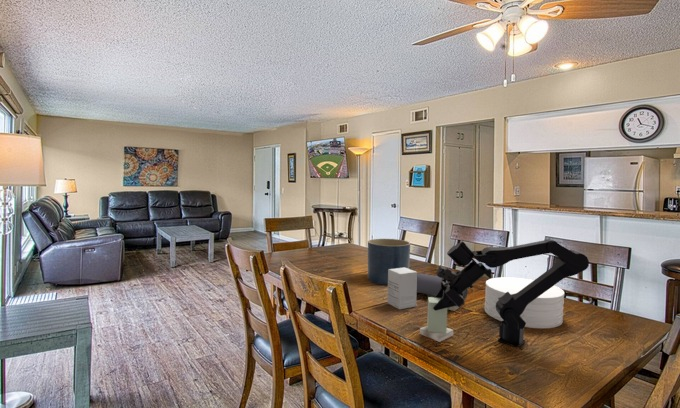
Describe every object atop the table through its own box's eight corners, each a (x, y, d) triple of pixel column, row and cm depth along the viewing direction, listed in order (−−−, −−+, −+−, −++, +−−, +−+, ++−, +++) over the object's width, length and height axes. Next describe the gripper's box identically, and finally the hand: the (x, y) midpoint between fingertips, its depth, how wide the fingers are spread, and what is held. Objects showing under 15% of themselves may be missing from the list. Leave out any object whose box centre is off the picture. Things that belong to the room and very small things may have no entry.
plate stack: (473, 314, 148) (474, 286, 147) (499, 298, 168) (500, 273, 167) (551, 335, 129) (553, 303, 128) (570, 314, 149) (571, 287, 148)
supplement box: (403, 300, 163) (404, 266, 162) (416, 306, 155) (417, 271, 154) (386, 303, 159) (387, 268, 158) (398, 309, 151) (400, 273, 150)
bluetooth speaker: (467, 302, 162) (468, 279, 162) (459, 307, 155) (460, 284, 155) (421, 291, 177) (421, 270, 176) (411, 295, 170) (412, 274, 169)
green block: (444, 326, 130) (445, 298, 129) (446, 333, 124) (447, 303, 123) (427, 324, 131) (428, 297, 130) (427, 331, 125) (429, 302, 124)
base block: (453, 336, 127) (453, 329, 127) (439, 343, 122) (439, 336, 122) (433, 329, 133) (433, 322, 133) (419, 335, 128) (419, 328, 128)
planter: (364, 284, 187) (365, 244, 185) (368, 273, 208) (369, 237, 207) (409, 287, 183) (410, 246, 182) (408, 275, 205) (409, 239, 203)
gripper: (448, 253, 134) (416, 281, 137) (454, 264, 116) (417, 296, 118) (470, 275, 133) (437, 303, 136) (480, 291, 115) (442, 323, 117)
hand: (433, 305), depth 127 cm, fingers open, 7 cm apart
